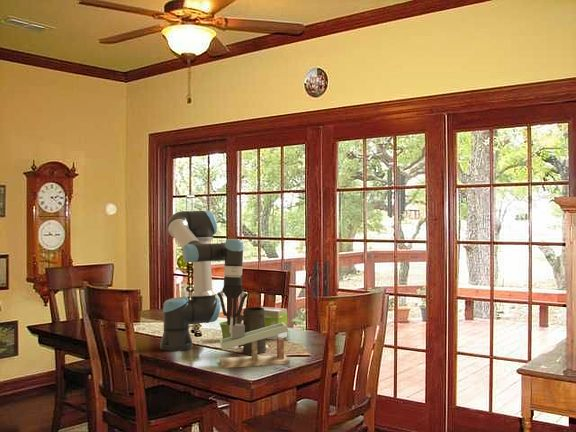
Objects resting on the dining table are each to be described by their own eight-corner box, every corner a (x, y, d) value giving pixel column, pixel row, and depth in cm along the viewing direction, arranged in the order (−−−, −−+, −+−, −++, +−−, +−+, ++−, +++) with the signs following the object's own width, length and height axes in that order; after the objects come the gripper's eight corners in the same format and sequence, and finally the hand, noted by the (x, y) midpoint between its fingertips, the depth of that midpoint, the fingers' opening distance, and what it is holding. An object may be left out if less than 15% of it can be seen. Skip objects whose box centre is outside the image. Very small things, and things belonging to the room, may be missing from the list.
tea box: (252, 338, 312) (252, 308, 312) (262, 334, 321) (262, 306, 321) (278, 340, 305) (278, 310, 305) (287, 336, 314) (287, 307, 314)
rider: (232, 340, 254) (233, 325, 254) (230, 337, 259) (231, 323, 259) (244, 340, 255) (245, 325, 255) (242, 338, 260) (243, 323, 260)
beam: (222, 350, 252) (221, 343, 252) (221, 346, 260) (219, 340, 260) (287, 331, 258) (286, 325, 257) (284, 328, 265) (282, 322, 265)
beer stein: (254, 347, 289) (252, 305, 288) (272, 350, 282) (269, 307, 281) (231, 355, 277) (229, 311, 276) (249, 359, 270) (246, 313, 269)
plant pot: (235, 342, 302) (235, 324, 302) (217, 341, 304) (216, 324, 304) (240, 338, 312) (240, 321, 312) (222, 337, 313) (222, 320, 313)
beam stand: (222, 367, 251) (222, 344, 251) (220, 361, 262) (219, 339, 262) (289, 363, 256) (289, 340, 256) (285, 357, 267) (284, 335, 267)
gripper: (218, 276, 252) (216, 334, 252) (248, 277, 254) (246, 334, 254) (217, 275, 260) (215, 331, 259) (247, 275, 262) (245, 331, 261)
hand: (230, 332), depth 257 cm, fingers closed
